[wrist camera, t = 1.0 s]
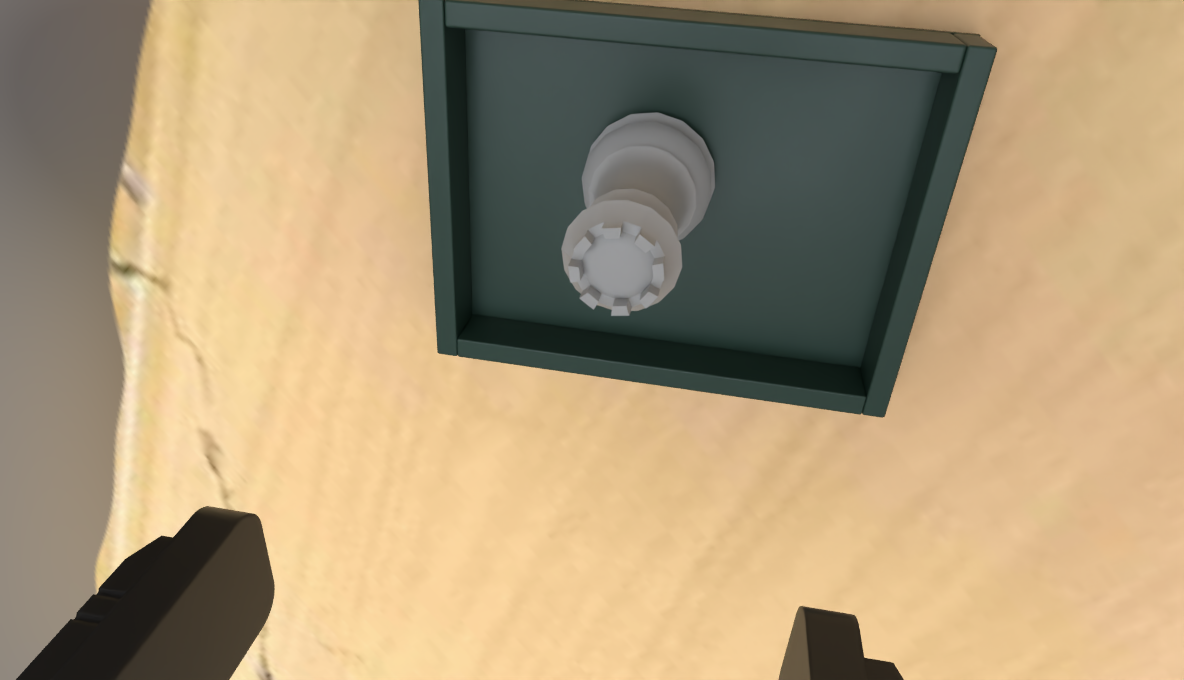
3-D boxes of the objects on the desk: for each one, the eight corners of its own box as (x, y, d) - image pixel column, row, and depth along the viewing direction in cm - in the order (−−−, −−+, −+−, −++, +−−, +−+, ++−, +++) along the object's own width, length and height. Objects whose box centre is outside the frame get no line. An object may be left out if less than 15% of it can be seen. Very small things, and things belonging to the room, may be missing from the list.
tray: (979, 34, 23) (999, 47, 21) (876, 384, 30) (884, 418, 28) (442, -12, 25) (417, -4, 23) (455, 326, 32) (436, 353, 30)
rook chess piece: (581, 224, 28) (527, 333, 22) (592, 99, 26) (535, 177, 19) (705, 243, 28) (689, 360, 21) (727, 117, 26) (716, 203, 19)
